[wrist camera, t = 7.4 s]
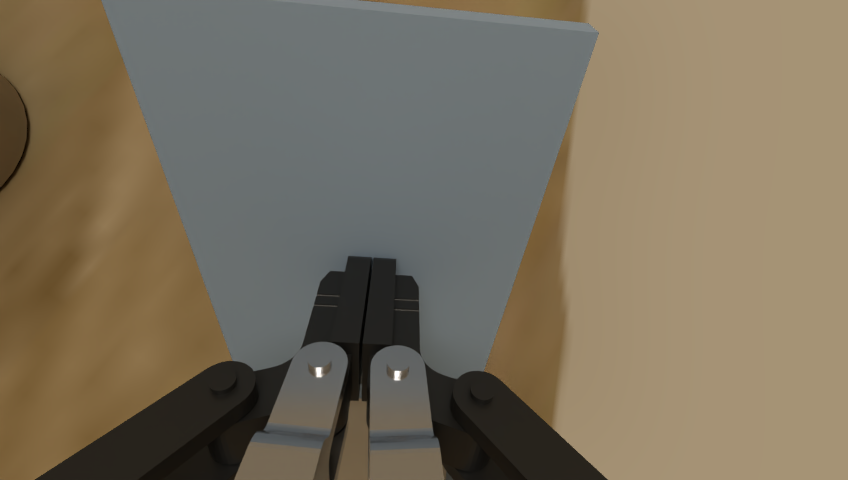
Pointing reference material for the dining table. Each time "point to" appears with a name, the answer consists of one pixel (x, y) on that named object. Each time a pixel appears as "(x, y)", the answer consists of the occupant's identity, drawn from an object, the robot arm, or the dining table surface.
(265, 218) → the lid
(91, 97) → the dining table surface
